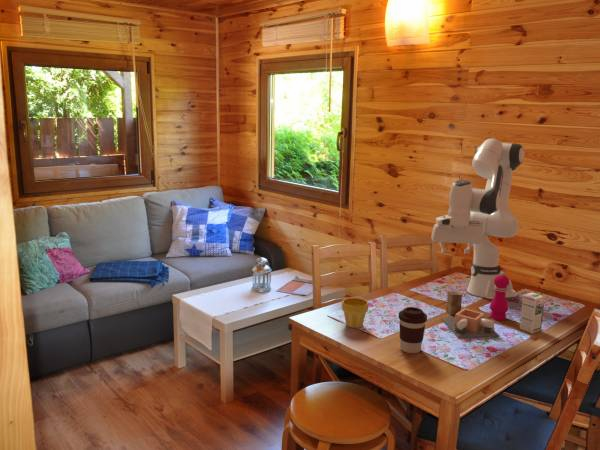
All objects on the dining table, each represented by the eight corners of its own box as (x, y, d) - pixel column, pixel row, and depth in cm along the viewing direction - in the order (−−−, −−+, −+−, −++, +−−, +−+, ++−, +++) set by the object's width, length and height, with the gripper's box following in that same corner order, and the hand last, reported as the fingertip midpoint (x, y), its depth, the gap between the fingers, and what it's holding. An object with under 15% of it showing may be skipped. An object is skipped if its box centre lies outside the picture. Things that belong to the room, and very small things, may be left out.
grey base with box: (441, 319, 214) (442, 305, 212) (478, 318, 215) (479, 305, 214) (458, 338, 196) (459, 323, 195) (498, 337, 198) (500, 322, 196)
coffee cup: (407, 357, 180) (409, 317, 177) (391, 345, 189) (393, 307, 186) (430, 352, 184) (433, 313, 181) (413, 341, 193) (416, 303, 190)
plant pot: (346, 317, 214) (347, 295, 212) (370, 322, 210) (371, 299, 207) (337, 326, 205) (338, 303, 203) (362, 332, 200) (363, 308, 198)
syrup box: (532, 333, 201) (536, 298, 198) (519, 328, 206) (522, 294, 203) (541, 330, 204) (545, 296, 201) (527, 325, 209) (531, 291, 206)
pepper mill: (485, 317, 217) (490, 271, 213) (493, 312, 222) (497, 268, 218) (502, 322, 212) (507, 275, 208) (509, 317, 217) (514, 271, 213)
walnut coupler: (456, 310, 224) (457, 291, 222) (460, 314, 219) (462, 294, 217) (446, 310, 223) (447, 291, 221) (450, 315, 219) (451, 294, 217)
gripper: (481, 220, 215) (477, 252, 218) (431, 217, 216) (429, 250, 218) (486, 222, 209) (482, 256, 212) (435, 220, 209) (432, 253, 212)
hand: (454, 253), depth 215 cm, fingers open, 8 cm apart
